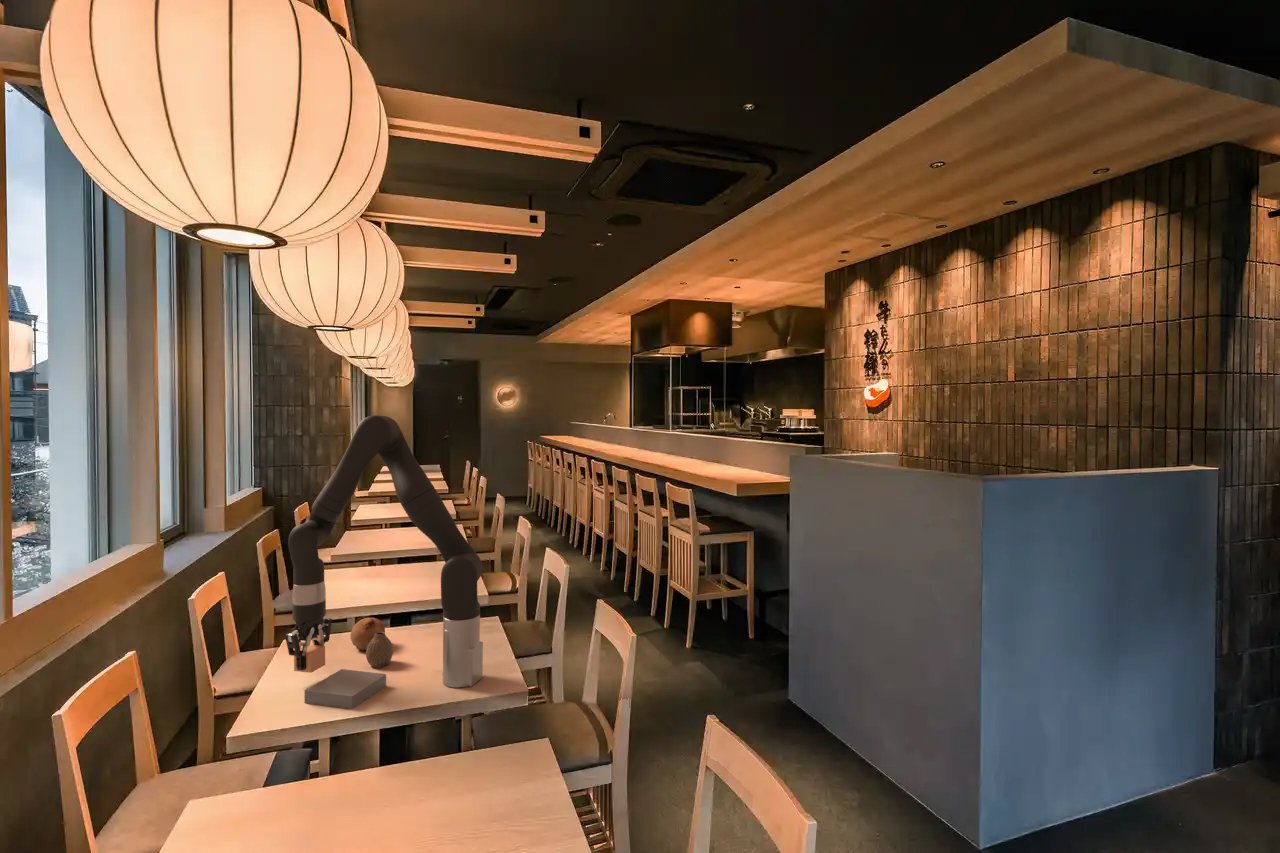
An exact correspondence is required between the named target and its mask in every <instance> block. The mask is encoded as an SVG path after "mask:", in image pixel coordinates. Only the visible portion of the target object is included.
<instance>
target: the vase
mask: <svg viewBox="0 0 1280 853" xmlns="http://www.w3.org/2000/svg"><path fill="white" fill-rule="evenodd" d="M393 654H394V647H393V643H392V640H390V639H389V637H388V636H387V635H386V632H385V633H384V632H377V633H375V635H374V637H373V639H372V640H371V641H370V643H369V644H368V646H367V650H365V657H366V661H367V663H368V665H370V666H371V667H373V668H382V667H385V666H387V665H388V664H389V663H390V662H391V661H392V658H393Z"/></svg>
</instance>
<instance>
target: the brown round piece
mask: <svg viewBox="0 0 1280 853" xmlns="http://www.w3.org/2000/svg"><path fill="white" fill-rule="evenodd" d="M377 632H384V633H385V634H386V629H385V624H384V623H383V622H382V620H380V619H378V618H377V617H365V618H362V619H360V620H358V621H357V622H356V623H355V624H354V625H353V627H352V629H351V631H350V640H351V644H352V645H353V646H354V647H355V649H357V650H360V651H366V650H367V646H368V644H369V643H370V641H371V640H372V639H373V637H374V635H375V633H377Z"/></svg>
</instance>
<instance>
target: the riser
mask: <svg viewBox="0 0 1280 853" xmlns="http://www.w3.org/2000/svg"><path fill="white" fill-rule="evenodd" d="M386 686H387V674H386V673H381V672H380V673H379V672H371V671H362V670H356V669H355V670H353V669H345V668H341V669H339V670H337V671H336V672H334V673H332V674H331V675H329V676H327V677H326V678H324V679H322V680H319V681H318V682H317V683H315V684H313V685H311V686H310V687H308V688H306V689H304V703H305V704H310V705H311V704H312V705H319V706H327V707H334V708H342V709H349V710H353V709H354V708H355V707H357V706H359V705H360V704H362V703H363V702H364V701H366V700H368V699H369V698H370V697H371V696H373V695H375V694H376V693H378V692H379V691H380V690H382V689H384V688H385V687H386Z"/></svg>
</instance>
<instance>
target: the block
mask: <svg viewBox="0 0 1280 853" xmlns="http://www.w3.org/2000/svg"><path fill="white" fill-rule="evenodd" d="M302 648H303V646H301V649H300V651H302ZM324 666H326V645H324V646H321V645H313V644H310V645H309V646H308V647H307V652H306V669H305V670H298V669H297V667H296V656H293V671H294V672H301V673H311V674H312V673H313V672H315V671H317V670H318V669H321V668H323V667H324Z"/></svg>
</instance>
